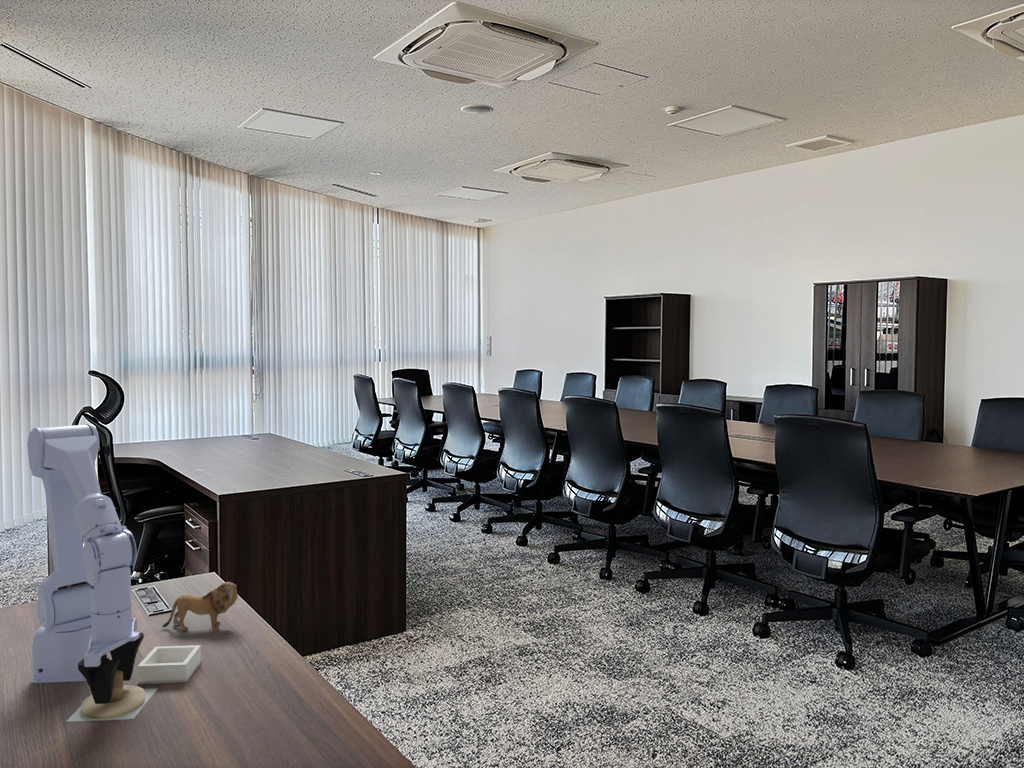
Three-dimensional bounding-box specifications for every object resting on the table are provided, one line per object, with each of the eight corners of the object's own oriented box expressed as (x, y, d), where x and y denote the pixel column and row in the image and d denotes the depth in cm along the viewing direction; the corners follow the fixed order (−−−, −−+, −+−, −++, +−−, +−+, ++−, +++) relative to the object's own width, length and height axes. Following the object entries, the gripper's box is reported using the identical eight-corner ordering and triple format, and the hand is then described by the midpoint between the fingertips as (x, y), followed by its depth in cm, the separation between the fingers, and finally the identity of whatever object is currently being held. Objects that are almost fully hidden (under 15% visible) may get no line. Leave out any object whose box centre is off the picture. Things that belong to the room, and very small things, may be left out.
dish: (137, 686, 126) (137, 666, 126) (155, 665, 134) (155, 646, 133) (186, 684, 127) (186, 664, 126) (201, 663, 134) (200, 645, 134)
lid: (70, 719, 114) (69, 688, 113) (97, 692, 123) (96, 663, 122) (131, 717, 115) (130, 686, 114) (153, 690, 124) (152, 661, 123)
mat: (65, 724, 113) (65, 721, 113) (95, 693, 123) (95, 690, 123) (133, 721, 114) (133, 718, 114) (157, 690, 124) (157, 688, 124)
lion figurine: (239, 619, 156) (239, 577, 155) (236, 629, 151) (235, 586, 150) (165, 624, 153) (164, 582, 152) (158, 635, 148) (157, 591, 147)
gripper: (117, 625, 111) (120, 712, 112) (154, 592, 125) (156, 669, 126) (68, 626, 110) (71, 714, 111) (111, 593, 125) (113, 671, 125)
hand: (113, 691), depth 119 cm, fingers open, 7 cm apart
